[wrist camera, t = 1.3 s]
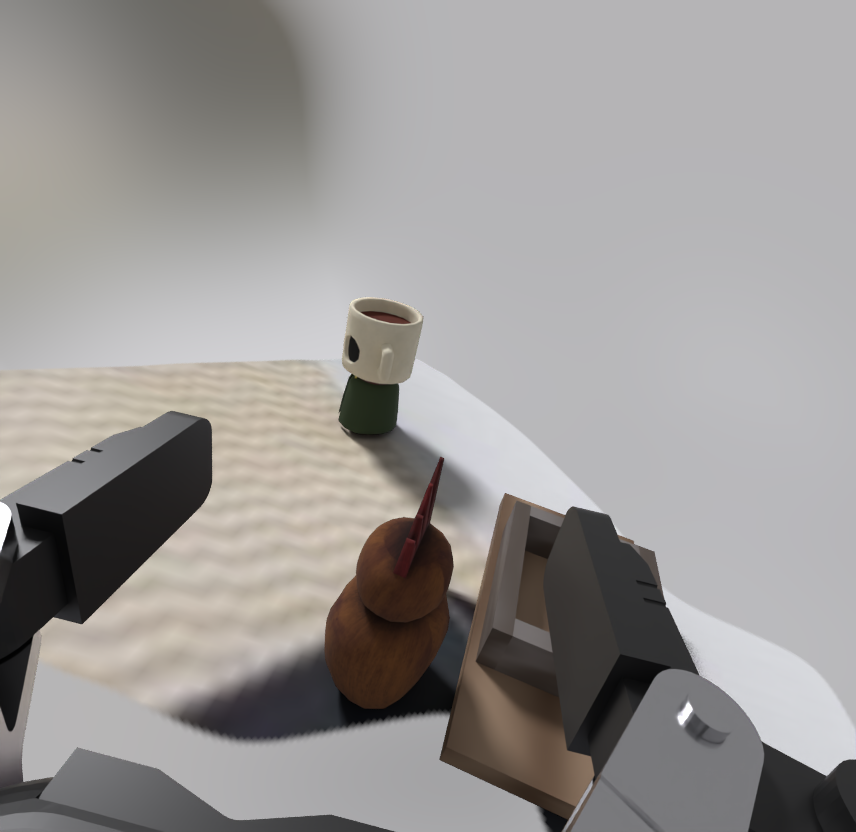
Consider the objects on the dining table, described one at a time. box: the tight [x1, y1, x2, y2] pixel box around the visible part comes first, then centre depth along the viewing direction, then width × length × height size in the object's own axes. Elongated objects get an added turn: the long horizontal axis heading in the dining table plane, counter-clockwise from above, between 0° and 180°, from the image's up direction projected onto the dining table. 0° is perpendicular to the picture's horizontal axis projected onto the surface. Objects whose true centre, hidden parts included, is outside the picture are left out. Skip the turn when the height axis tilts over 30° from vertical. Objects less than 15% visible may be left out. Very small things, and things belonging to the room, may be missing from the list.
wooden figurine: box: [325, 457, 454, 709], centre depth 23 cm, size 7×6×15 cm
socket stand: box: [440, 493, 664, 820], centre depth 31 cm, size 12×22×5 cm, turn 163°
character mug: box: [339, 297, 423, 434], centre depth 46 cm, size 11×7×13 cm, turn 9°
